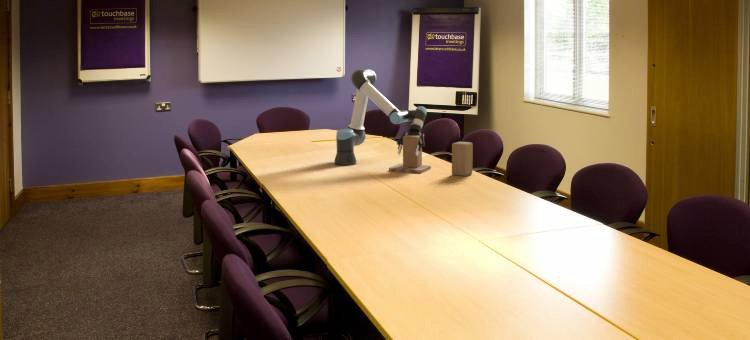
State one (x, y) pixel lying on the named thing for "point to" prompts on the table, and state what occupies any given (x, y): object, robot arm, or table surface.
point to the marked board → (409, 169)
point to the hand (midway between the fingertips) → (407, 154)
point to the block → (462, 158)
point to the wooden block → (411, 151)
